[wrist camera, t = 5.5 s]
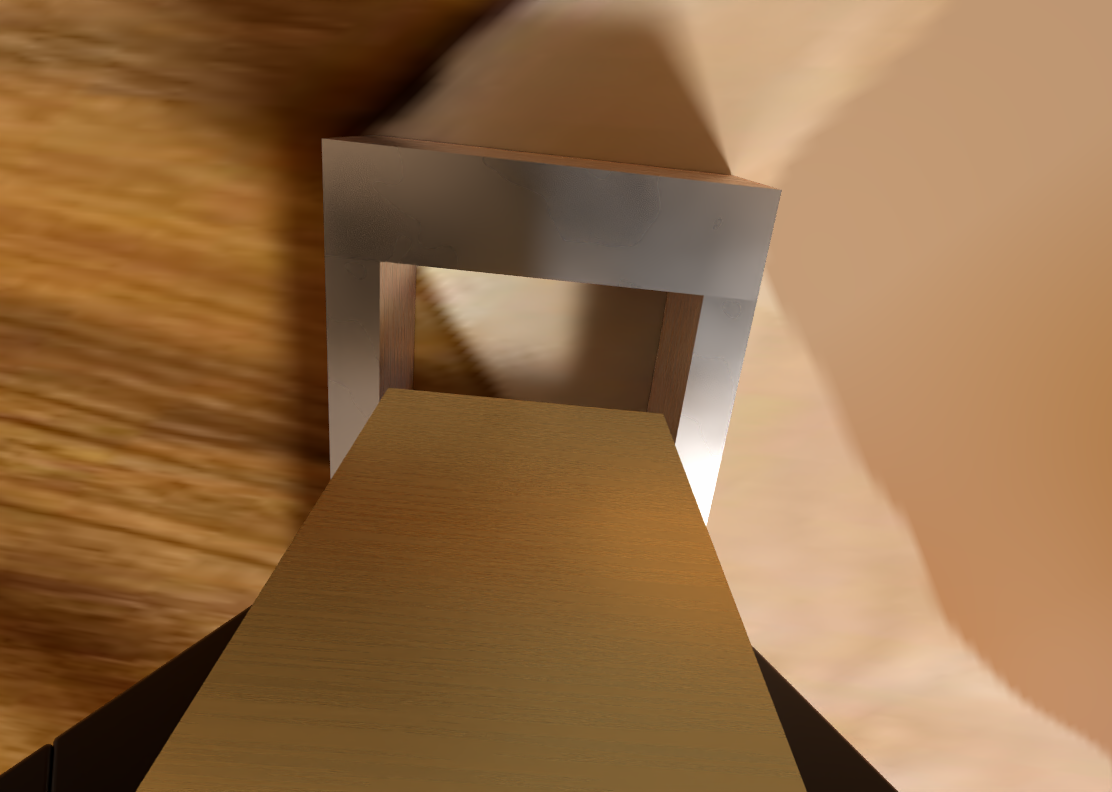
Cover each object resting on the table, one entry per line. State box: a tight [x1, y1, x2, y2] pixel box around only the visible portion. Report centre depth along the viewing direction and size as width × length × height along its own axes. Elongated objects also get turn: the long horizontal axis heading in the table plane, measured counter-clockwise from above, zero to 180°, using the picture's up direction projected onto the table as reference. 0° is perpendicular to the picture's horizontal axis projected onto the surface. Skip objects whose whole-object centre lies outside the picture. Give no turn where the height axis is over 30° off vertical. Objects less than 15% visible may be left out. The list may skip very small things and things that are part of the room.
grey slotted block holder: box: [322, 135, 782, 525], centre depth 15 cm, size 18×8×7 cm, turn 174°
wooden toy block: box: [136, 388, 807, 792], centre depth 7 cm, size 4×4×7 cm
